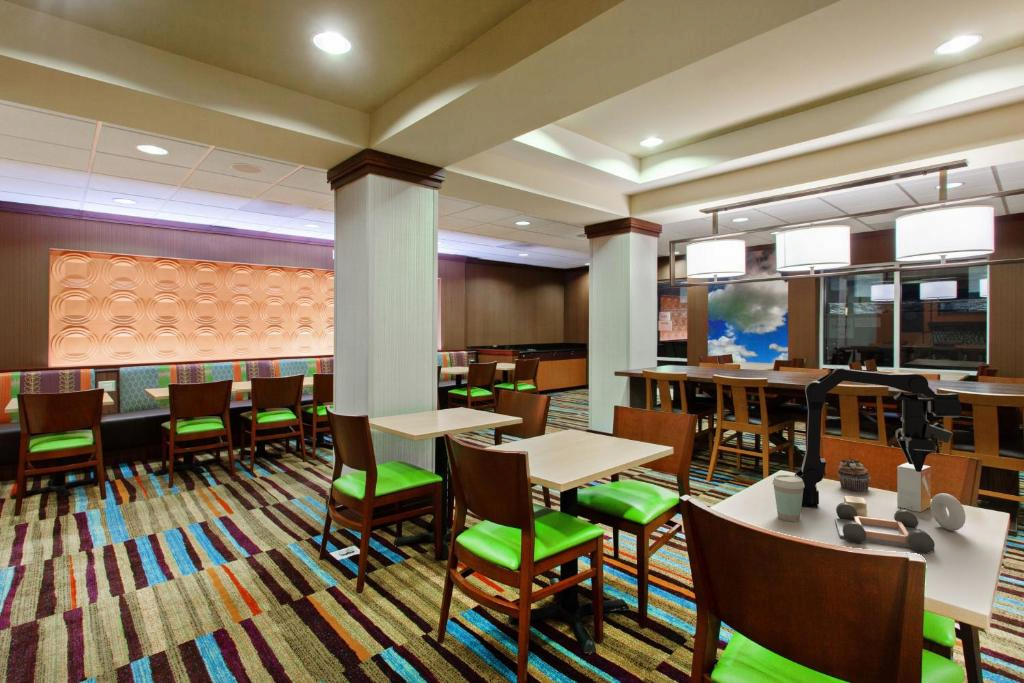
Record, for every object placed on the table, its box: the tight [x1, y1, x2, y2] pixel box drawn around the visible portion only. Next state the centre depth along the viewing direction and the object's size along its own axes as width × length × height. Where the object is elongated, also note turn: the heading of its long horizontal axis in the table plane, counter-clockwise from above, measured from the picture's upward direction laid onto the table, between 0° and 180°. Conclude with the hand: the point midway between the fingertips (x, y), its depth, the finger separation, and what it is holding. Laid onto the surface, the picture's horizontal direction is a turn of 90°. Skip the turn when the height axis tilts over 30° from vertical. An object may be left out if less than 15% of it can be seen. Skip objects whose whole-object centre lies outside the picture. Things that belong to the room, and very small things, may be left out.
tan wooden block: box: [843, 495, 868, 517], centre depth 154 cm, size 5×6×4 cm
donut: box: [930, 492, 967, 532], centre depth 141 cm, size 10×4×10 cm, turn 177°
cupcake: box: [837, 458, 872, 493], centre depth 178 cm, size 10×10×10 cm
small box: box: [896, 462, 932, 513], centre depth 159 cm, size 8×6×13 cm
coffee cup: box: [772, 474, 805, 522], centre depth 152 cm, size 8×9×12 cm
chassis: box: [834, 502, 936, 554], centre depth 138 cm, size 20×19×5 cm
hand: (914, 467), depth 150 cm, fingers open, 9 cm apart
